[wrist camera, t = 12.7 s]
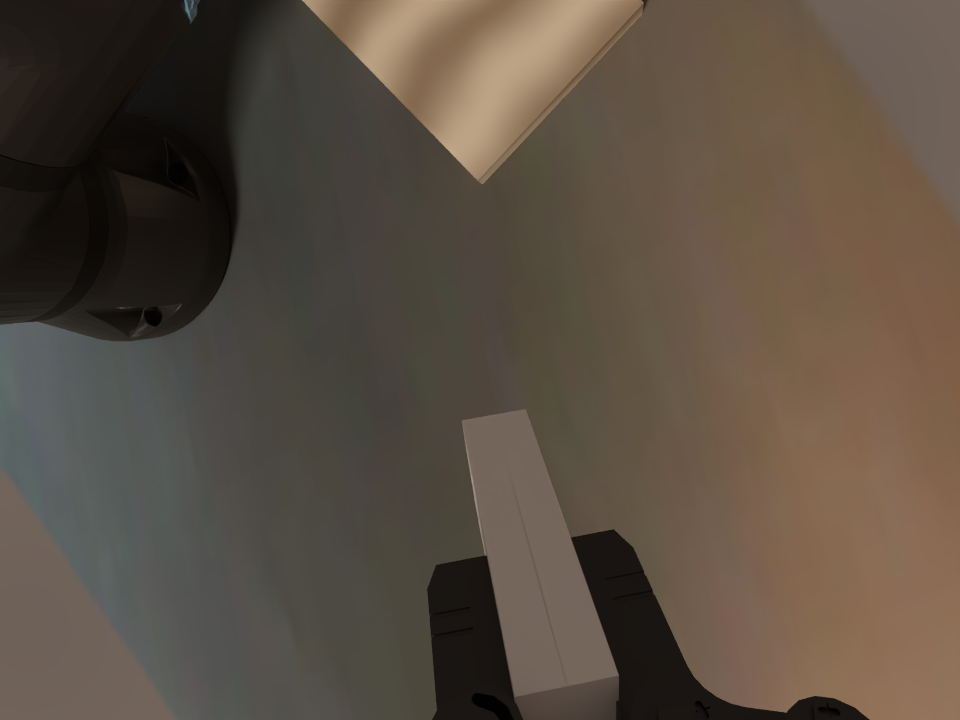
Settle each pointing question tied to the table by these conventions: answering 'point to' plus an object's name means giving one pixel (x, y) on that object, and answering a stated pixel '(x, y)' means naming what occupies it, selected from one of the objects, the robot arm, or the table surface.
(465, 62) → the bearing stand
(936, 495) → the table surface
